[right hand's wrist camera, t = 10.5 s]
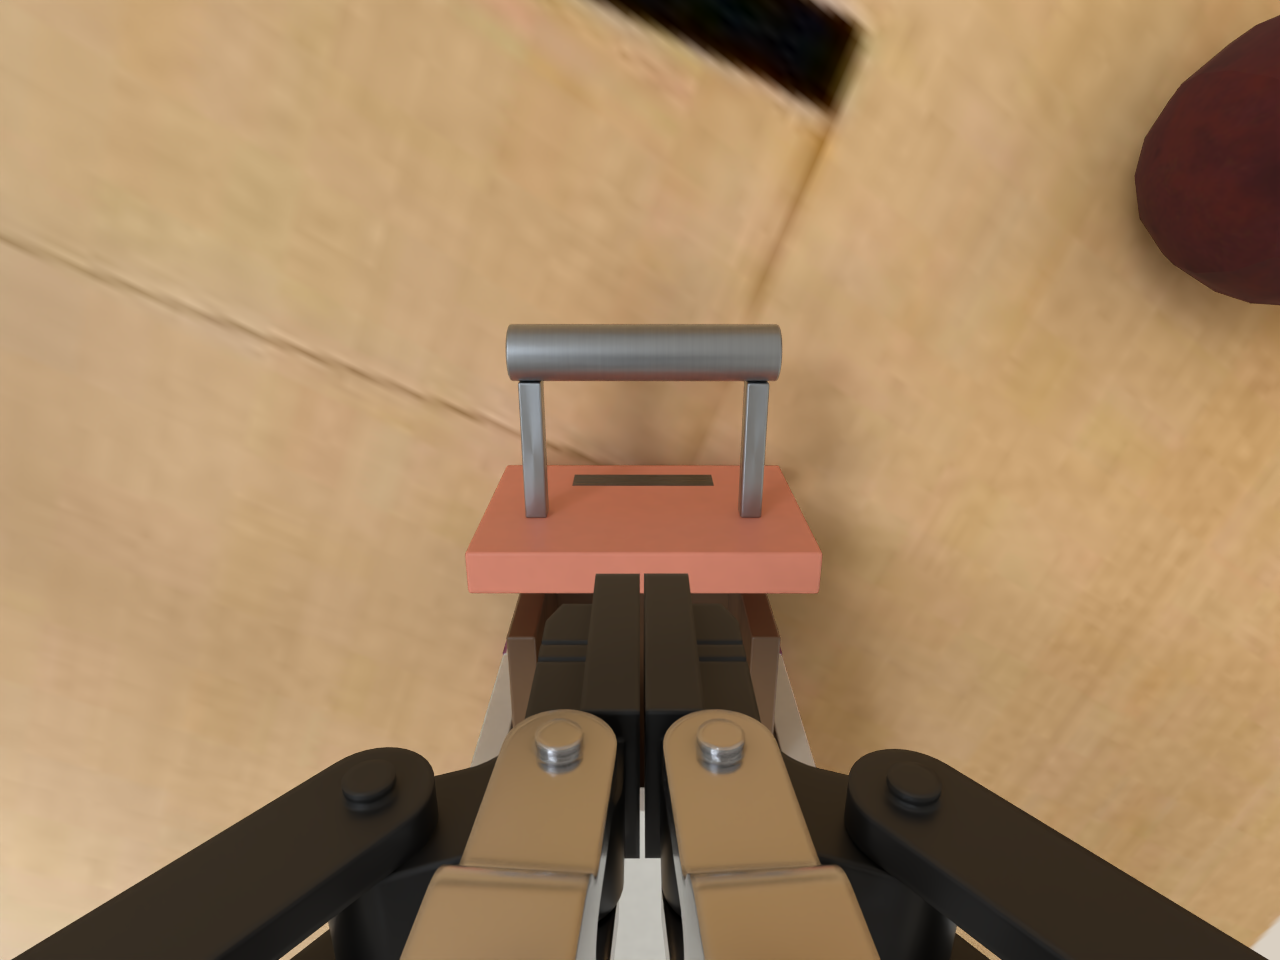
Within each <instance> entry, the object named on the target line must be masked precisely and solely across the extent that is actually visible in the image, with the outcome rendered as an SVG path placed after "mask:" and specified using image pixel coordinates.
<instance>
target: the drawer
mask: <svg viewBox="0 0 1280 960" xmlns="http://www.w3.org/2000/svg"><path fill="white" fill-rule="evenodd" d="M781 363H782V335H781V330H780V327H779V326H778V325H743V324H511V325H509V327H508V329H507V335H506V364H507V371H508V375H509V378H510V380H512V381H519V383H518V391H519V409H520V427H521V444H522V462H523V465H509V466H507V467H506V469H505V472H504V474H503V476H502V478H501V480H500V482H499V484H498V486H497V488H496V490H495V492H494V495H493V497H492V499H491V501H490V503H489V505H488V507H487V509H486V511H485V513H484V515H483V518H482V520H481V522H480V524H479V526H478V528H477V530H476V532H475V534H474V536H473V539H472V541H471V543H470V545H469V547H468V549H467V551H466V553H465V558H466V569H467V581H468V590H469V592H470V593H520V594H519V598H518V601H517V604H516V608H515V611H514V615H513V618H512V621H511V625H510V628H509V631H508V635H507V652H508V666H509V680H510V694H511V709H512V723H513V728H514V727H515V726H516V725H517V724H518V723H520V722H521V721H523V720H524V719H525V715H526V710H527V706H528V701H529V696H530V692H531V687H532V683H533V678H534V673H535V669H536V664H537V662H538V655H539V650H540V646H541V644H542V637H543V632H544V627H545V623H546V620H547V619H548V618H549V617H550V616H551V615H552V614H553V613H554V612H555V611H556V610H557V609H558V608H559V607H560V606H561V605H562V604H592V601H593V592H594V584H595V575H596V574H640V787H644V573H688V576H689V584H690V592H691V600H692V604H722V605H723V606H724V607H725V608H726V609H727V610H728V611H729V612H730V613H731V614H732V615H733V616H734V617H735V618H736V619H737V620H738V622H739V627H740V631H741V636H742V640H743V645H744V649H745V653H746V661H747V662H748V667H749V671H750V675H751V680H752V684H753V689H754V693H755V697H756V702H757V706H758V711H759V715H760V720H761V723H762V724H763V725H764V726H765V727H766V728H767V729H769V730H770V732H771V733H772V734H773V731H774V717H775V704H776V691H777V678H778V665H779V652H780V639H781V638H780V635H779V632H778V629H777V625H776V622H775V619H774V616H773V612H772V609H771V606H770V603H769V600H768V596H767V593H818V591H819V586H820V575H821V564H822V552H821V550H820V548H819V546H818V544H817V542H816V540H815V538H814V536H813V534H812V532H811V530H810V528H809V526H808V524H807V522H806V520H805V518H804V516H803V514H802V512H801V510H800V508H799V506H798V504H797V502H796V500H795V498H794V496H793V494H792V492H791V490H790V488H789V486H788V484H787V482H786V480H785V478H784V476H783V474H782V472H781V470H780V468H779V466H764V463H765V447H766V431H767V415H768V398H769V383H768V381H776V380H777V379H778V377H779V374H780V370H781ZM543 381H744V398H743V418H742V438H741V458H740V466H636V465H547V455H546V432H545V410H544V387H543Z"/></svg>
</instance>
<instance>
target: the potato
mask: <svg viewBox="0 0 1280 960" xmlns="http://www.w3.org/2000/svg"><path fill="white" fill-rule="evenodd" d="M1135 184H1136V192H1137V201H1138V209H1139V216H1140V220H1141V221H1142V223H1143V224H1144V226H1145V227H1146V229H1147V230H1148V232H1149V233H1150V235H1151V236H1152V238H1153V239H1154V241H1155V243H1156V244H1157V246H1158V247H1159V249H1160V250H1161V252H1162V253H1163V254H1164V255H1165V256H1166V257H1167V258H1168V259H1169V260H1170V261H1171V262H1172V263H1173V264H1174V265H1175V266H1177V267H1178V268H1180V269H1181V270H1183V271H1184V272H1186V273H1187V274H1189V275H1191V276H1192V277H1194V278H1195V279H1197V280H1198V281H1200V282H1201V283H1203V284H1204V285H1206V286H1207V287H1209V288H1210V289H1212V290H1213V291H1215V292H1218V293H1221V294H1224V295H1227V296H1230V297H1233V298H1236V299H1239V300H1243V301H1246V302H1249V303H1256V304H1271V305H1280V15H1279V16H1277V17H1274V18H1272V19H1270V20H1267V21H1265V22H1263V23H1260V24H1258V25H1256V26H1254V27H1253V28H1252V29H1250V30H1249V31H1247V32H1246V33H1244V34H1243V35H1242V36H1240V37H1239V38H1237V39H1236V40H1234V41H1233V42H1232V43H1230V44H1229V45H1228V46H1226V47H1225V48H1224V49H1223V50H1222V51H1221V52H1219V53H1218V54H1217V55H1216V56H1215V57H1213V58H1212V59H1211V60H1210V61H1209V62H1207V63H1206V64H1205V65H1204V66H1203V67H1201V68H1200V69H1199V70H1198V71H1197V72H1195V73H1194V74H1193V75H1192V76H1191V77H1189V78H1188V79H1187V80H1186V81H1185V82H1183V83H1182V84H1181V86H1180V87H1179V88H1178V90H1177V91H1176V92H1175V94H1174V95H1173V96H1172V98H1171V99H1170V100H1169V102H1168V103H1167V105H1166V106H1165V108H1164V109H1163V111H1162V113H1161V114H1160V116H1159V117H1158V119H1157V120H1156V122H1155V123H1154V125H1153V126H1152V128H1151V129H1150V131H1149V132H1148V134H1147V135H1146V137H1145V139H1144V143H1143V147H1142V150H1141V154H1140V158H1139V162H1138V165H1137V169H1136V173H1135Z"/></svg>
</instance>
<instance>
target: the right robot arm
mask: <svg viewBox="0 0 1280 960" xmlns="http://www.w3.org/2000/svg"><path fill="white" fill-rule="evenodd" d="M644 794H645V858H661V921H662V929H663V938H664V947H665V956H666V960H990V959H989V958H987V957H986V956H985V955H983V954H982V953H981V952H980V951H978V950H977V949H976V948H974V947H973V946H972V945H971V944H969V943H968V942H967V941H965V940H964V939H963V938H962V937H960V936H959V935H958V934H956V933H955V932H956V927H957V926H958V927H960V928H961V929H962V930H964V931H965V932H966V933H968V934H969V935H970V936H971V937H973V938H974V939H975V940H977V941H978V942H979V943H981V944H982V945H983V946H984V947H986V948H987V949H988V950H990V951H991V952H992V953H994V954H995V955H996V956H997V957H999V958H1000V959H1001V960H1268V959H1266V958H1265V957H1263V956H1262V955H1260V954H1258V953H1257V952H1255V951H1253V950H1252V949H1250V948H1248V947H1247V946H1245V945H1243V944H1242V943H1240V942H1239V941H1237V940H1235V939H1234V938H1232V937H1230V936H1229V935H1227V934H1225V933H1224V932H1222V931H1220V930H1219V929H1217V928H1215V927H1214V926H1212V925H1211V924H1209V923H1207V922H1206V921H1204V920H1202V919H1201V918H1199V917H1197V916H1196V915H1194V914H1192V913H1191V912H1189V911H1187V910H1186V909H1184V908H1183V907H1181V906H1179V905H1178V904H1176V903H1174V902H1173V901H1171V900H1169V899H1168V898H1166V897H1164V896H1163V895H1161V894H1159V893H1158V892H1156V891H1155V890H1153V889H1151V888H1150V887H1148V886H1146V885H1145V884H1143V883H1141V882H1140V881H1138V880H1136V879H1135V878H1133V877H1131V876H1130V875H1128V874H1127V873H1125V872H1123V871H1122V870H1120V869H1118V868H1117V867H1115V866H1113V865H1112V864H1110V863H1108V862H1107V861H1105V860H1103V859H1102V858H1100V857H1099V856H1097V855H1095V854H1094V853H1092V852H1090V851H1089V850H1087V849H1085V848H1084V847H1082V846H1080V845H1079V844H1077V843H1075V842H1074V841H1072V840H1071V839H1069V838H1067V837H1066V836H1064V835H1062V834H1061V833H1059V832H1057V831H1056V830H1054V829H1052V828H1051V827H1049V826H1047V825H1046V824H1044V823H1043V822H1041V821H1039V820H1038V819H1036V818H1034V817H1033V816H1031V815H1029V814H1028V813H1026V812H1024V811H1023V810H1021V809H1019V808H1018V807H1016V806H1015V805H1013V804H1011V803H1010V802H1008V801H1006V800H1005V799H1003V798H1001V797H1000V796H998V795H996V794H995V793H993V792H991V791H990V790H988V789H987V788H985V787H983V786H982V785H980V784H978V783H977V782H975V781H973V780H972V779H970V778H968V777H967V776H965V775H963V774H962V773H960V772H959V771H957V770H955V769H954V768H952V767H950V766H949V765H947V764H945V763H943V762H941V761H940V760H938V759H935V758H933V757H930V756H928V755H925V754H922V753H918V752H914V751H909V750H901V749H885V750H879V751H875V752H872V753H869V754H867V755H865V756H863V757H861V758H860V759H859V760H858V761H856V762H855V764H854V765H853V767H852V768H851V771H850V773H849V775H845V774H840V773H836V772H832V771H828V770H824V769H819V768H816V767H813V766H809V765H807V764H804V763H802V762H799V761H797V760H795V759H793V758H791V757H789V756H788V755H786V754H785V753H783V752H782V751H781V750H780V749H779V747H778V744H777V742H776V740H775V737H774V736H773V734H772V733H771V732H770V730H769V729H767V728H766V727H765V726H764V725H763V724H762V723H761V720H760V715H759V711H758V706H757V702H756V697H755V693H754V689H753V684H752V680H751V675H750V671H749V667H748V662H747V661H746V653H745V649H744V645H743V640H742V636H741V631H740V627H739V622H738V620H737V619H736V618H735V617H734V616H733V615H732V614H731V613H730V612H729V611H728V610H727V609H726V608H725V607H724V606H723V605H722V604H692V600H691V592H690V584H689V576H688V573H644ZM624 859H640V574H596V575H595V584H594V592H593V601H592V604H562V605H561V606H560V607H559V608H558V609H557V610H556V611H555V612H554V613H553V614H552V615H551V616H550V617H549V618H548V619H547V620H546V623H545V627H544V632H543V637H542V644H541V646H540V650H539V655H538V662H537V664H536V669H535V673H534V678H533V683H532V687H531V692H530V696H529V701H528V706H527V710H526V715H525V719H524V720H523V721H521V722H520V723H518V724H517V725H516V726H515V727H514V728H513V729H511V730H510V732H509V733H508V734H507V736H506V737H505V739H504V742H503V744H502V747H501V749H500V752H499V755H498V756H496V757H494V758H493V759H491V760H489V761H487V762H484V763H482V764H480V765H477V766H474V767H470V768H467V769H463V770H459V771H455V772H450V773H446V774H442V775H438V776H434V772H433V769H432V767H431V765H430V764H429V762H428V761H427V760H426V759H425V758H424V757H422V756H421V755H419V754H417V753H416V752H413V751H410V750H407V749H402V748H392V747H385V748H375V749H370V750H365V751H362V752H359V753H355V754H353V755H351V756H348V757H346V758H344V759H342V760H340V761H338V762H336V763H335V764H333V765H331V766H330V767H328V768H326V769H325V770H323V771H321V772H320V773H318V774H317V775H315V776H313V777H312V778H310V779H308V780H307V781H305V782H303V783H302V784H300V785H298V786H297V787H295V788H293V789H292V790H290V791H289V792H287V793H285V794H284V795H282V796H280V797H279V798H277V799H275V800H274V801H272V802H270V803H269V804H267V805H265V806H264V807H262V808H261V809H259V810H257V811H256V812H254V813H252V814H251V815H249V816H247V817H246V818H244V819H242V820H241V821H239V822H237V823H236V824H234V825H233V826H231V827H229V828H228V829H226V830H224V831H223V832H221V833H219V834H218V835H216V836H214V837H213V838H211V839H209V840H208V841H206V842H205V843H203V844H201V845H200V846H198V847H196V848H195V849H193V850H191V851H190V852H188V853H186V854H185V855H183V856H182V857H180V858H178V859H177V860H175V861H173V862H172V863H170V864H168V865H167V866H165V867H163V868H162V869H160V870H158V871H157V872H155V873H154V874H152V875H150V876H149V877H147V878H145V879H144V880H142V881H140V882H139V883H137V884H135V885H134V886H132V887H130V888H129V889H127V890H126V891H124V892H122V893H121V894H119V895H117V896H116V897H114V898H112V899H111V900H109V901H107V902H106V903H104V904H102V905H101V906H99V907H98V908H96V909H94V910H93V911H91V912H89V913H88V914H86V915H84V916H83V917H81V918H79V919H78V920H76V921H74V922H73V923H71V924H70V925H68V926H66V927H65V928H63V929H61V930H60V931H58V932H56V933H55V934H53V935H51V936H50V937H48V938H46V939H45V940H43V941H42V942H40V943H38V944H37V945H35V946H33V947H32V948H30V949H28V950H27V951H25V952H23V953H22V954H20V955H18V956H17V957H15V958H14V959H12V960H279V959H280V958H281V957H283V956H284V955H285V954H286V953H288V952H289V951H290V950H292V949H293V948H294V947H296V946H297V945H298V944H299V943H301V942H302V941H303V940H305V939H306V938H307V937H309V936H310V935H311V934H313V933H314V932H315V931H316V930H318V929H319V928H320V927H322V926H323V925H324V924H326V923H327V922H328V924H329V930H328V931H326V932H325V933H324V934H322V935H321V936H320V937H318V938H317V939H316V940H315V941H313V942H312V943H311V944H309V945H308V946H307V947H306V948H304V949H303V950H302V951H300V952H299V953H298V954H297V955H295V956H294V957H293V958H291V959H290V960H614V956H615V947H616V938H617V929H618V921H619V899H620V897H621V894H622V891H623V886H624Z"/></svg>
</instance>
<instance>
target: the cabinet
mask: <svg viewBox="0 0 1280 960" xmlns="http://www.w3.org/2000/svg"><path fill="white" fill-rule="evenodd" d="M511 729H513V723H512V709H511V694H510V680H509V666H508V652H507V641H506V644H505V647H504V651H503V657H502V661H501V664H500V667H499V671H498V674H497V678H496V681H495V685H494V688H493V691H492V695H491V698H490V702H489V705H488V708H487V712H486V715H485V719H484V722H483V725H482V729H481V732H480V736H479V739H478V743H477V746H476V749H475V753H474V756H473V760H472V763H471V766H470V767H474V766H477V765H480V764H482V763H484V762H487V761H489V760H491V759H493V758H494V757H496V756H498V755H499V752H500V749H501V747H502V744H503V742H504V739H505V737H506V736H507V734H508V733H509V732H510V730H511ZM773 736H774V737H775V740H776V742H777V744H778V747H779V749H780V750H781V751H782V752H783V753H785V754H786V755H788V756H789V757H791V758H793V759H795V760H797V761H799V762H802V763H804V764H807V765H809V766H813V767H816V766H815V763H814V759H813V756H812V753H811V749H810V746H809V743H808V740H807V736H806V733H805V730H804V726H803V723H802V720H801V716H800V713H799V710H798V707H797V703H796V700H795V697H794V693H793V690H792V687H791V684H790V680H789V677H788V674H787V670H786V667H785V664H784V660H783V657H782V651H781V648H780V652H779V665H778V678H777V691H776V704H775V717H774V731H773ZM614 960H666V956H665V947H664V938H663V929H662V921H661V858H645V794H644V787H640V859H624V886H623V891H622V894H621V897H620V899H619V921H618V929H617V938H616V947H615V956H614Z"/></svg>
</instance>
